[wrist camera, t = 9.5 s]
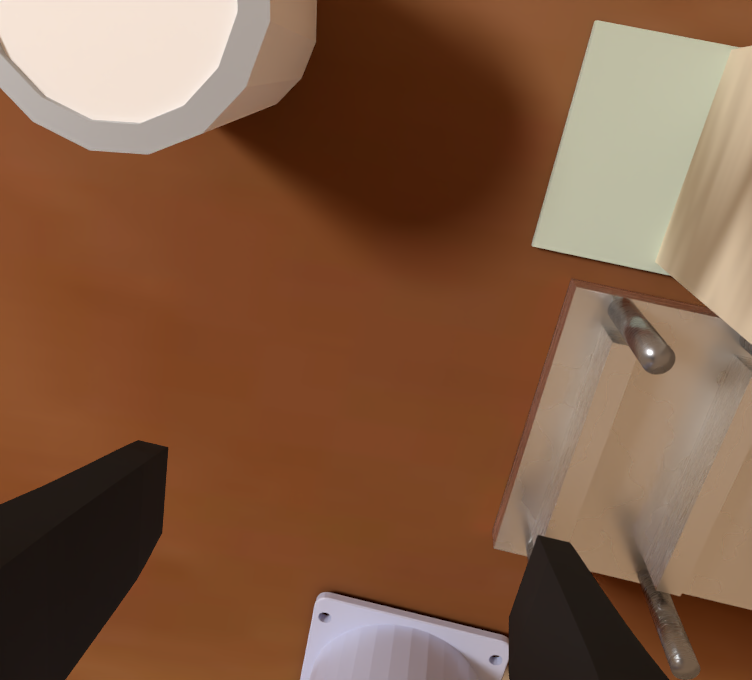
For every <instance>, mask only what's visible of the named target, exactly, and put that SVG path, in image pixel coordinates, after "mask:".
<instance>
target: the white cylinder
mask: <svg viewBox="0 0 752 680" xmlns="http://www.w3.org/2000/svg"><path fill="white" fill-rule="evenodd" d="M316 19H317V0H0V88H1V89H2V90H3V91H4V92H5V93H6V94H7V95H8V96H9V97H10V98H11V99H12V100H13V101H14V102H15V103H16V104H17V105H18V107H19V108H20V109H21V110H22V111H23V112H24V113H25V114H26V115H27V116H28V117H29V118H30V119H31V120H32V121H33V122H35V123H37V124H39V125H41V126H43V127H45V128H47V129H49V130H51V131H53V132H55V133H57V134H59V135H60V136H62V137H64V138H66V139H68V140H70V141H72V142H74V143H76V144H78V145H80V146H82V147H84V148H86V149H88V150H94V151H108V152H122V153H136V154H151V153H153V152H156V151H158V150H161V149H164V148H166V147H169V146H171V145H174V144H176V143H179V142H182V141H184V140H187V139H189V138H192V137H194V136H197V135H200V134H202V133H205V132H207V131H210V130H212V129H215V128H217V127H220V126H222V125H225V124H227V123H230V122H233V121H235V120H238V119H240V118H243V117H245V116H248V115H250V114H253V113H255V112H258V111H260V110H263V109H265V108H268V107H271V106H273V105H276V104H277V103H278V102H279V101H280V100H281V99H282V98H283V97H284V96H285V95H286V94H287V93H288V92H289V91H290V90H291V89H292V88H293V87H294V86H295V85H296V84H297V83H298V82H299V81H300V79H301V78H302V76H303V74H304V71H305V69H306V66H307V64H308V61H309V59H310V56H311V53H312V51H313V48H314V46H315V43H316Z"/></svg>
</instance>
